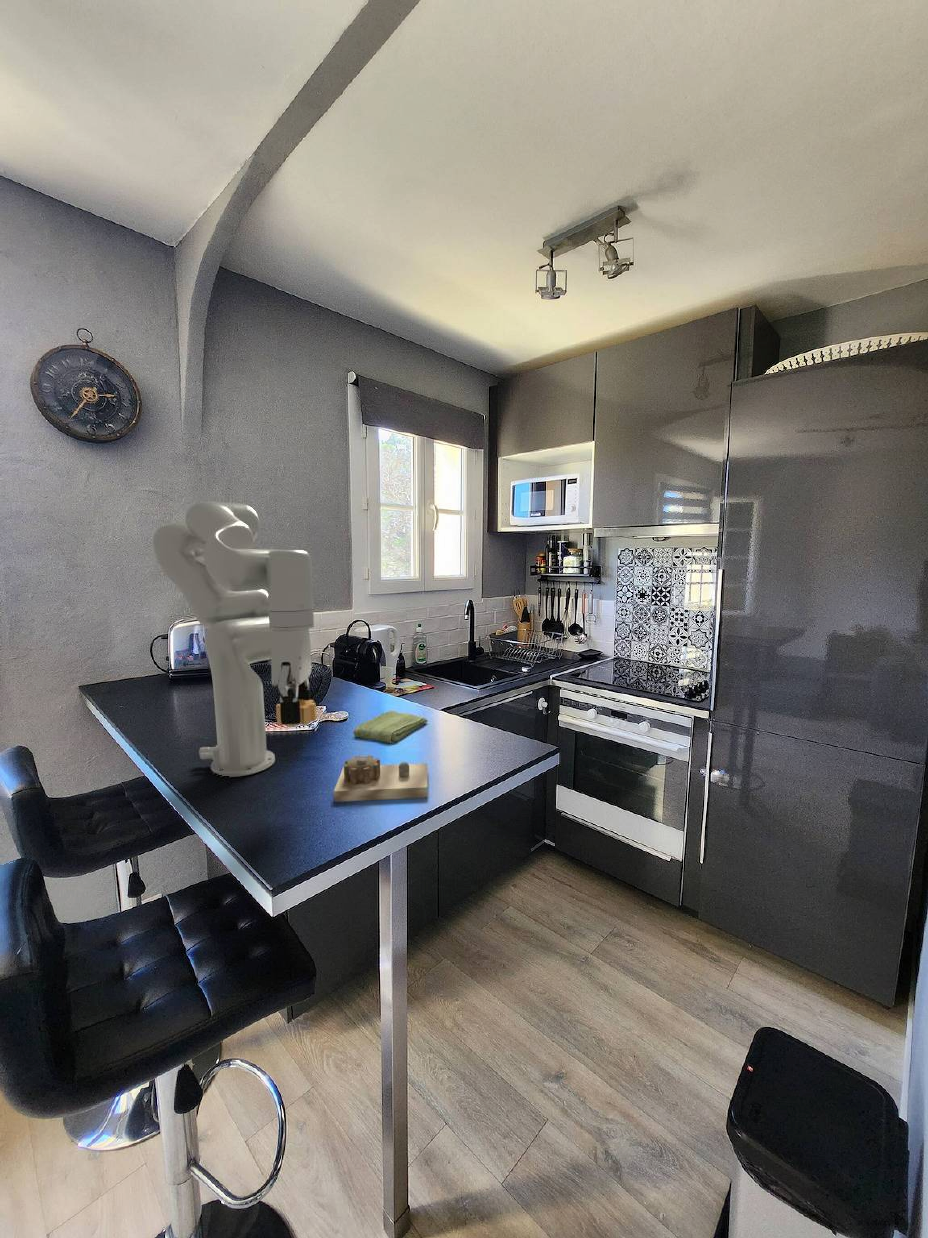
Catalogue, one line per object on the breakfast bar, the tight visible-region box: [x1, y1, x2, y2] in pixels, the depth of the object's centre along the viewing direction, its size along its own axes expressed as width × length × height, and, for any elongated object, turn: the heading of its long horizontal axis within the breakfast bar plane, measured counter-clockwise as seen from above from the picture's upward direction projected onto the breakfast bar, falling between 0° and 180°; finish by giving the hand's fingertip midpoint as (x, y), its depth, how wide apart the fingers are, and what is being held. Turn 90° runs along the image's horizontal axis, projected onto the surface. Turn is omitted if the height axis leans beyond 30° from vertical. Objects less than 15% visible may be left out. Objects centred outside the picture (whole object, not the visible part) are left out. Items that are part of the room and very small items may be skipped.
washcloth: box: [352, 710, 429, 744], centre depth 130 cm, size 13×18×3 cm
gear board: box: [333, 755, 429, 803], centre depth 97 cm, size 17×11×6 cm, turn 94°
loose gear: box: [275, 699, 317, 727], centre depth 92 cm, size 7×7×3 cm
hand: (296, 716), depth 92 cm, fingers closed on loose gear, 6 cm apart
